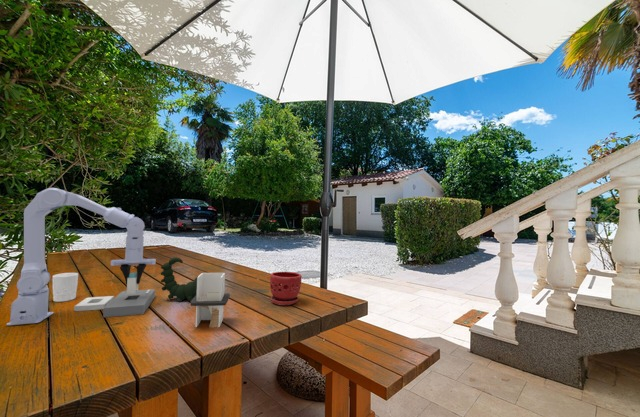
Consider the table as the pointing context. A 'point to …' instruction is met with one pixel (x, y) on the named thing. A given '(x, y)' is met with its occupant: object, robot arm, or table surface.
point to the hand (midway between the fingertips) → (133, 283)
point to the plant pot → (285, 287)
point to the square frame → (93, 303)
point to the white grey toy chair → (210, 298)
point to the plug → (132, 283)
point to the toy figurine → (174, 288)
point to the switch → (129, 303)
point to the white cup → (64, 286)
